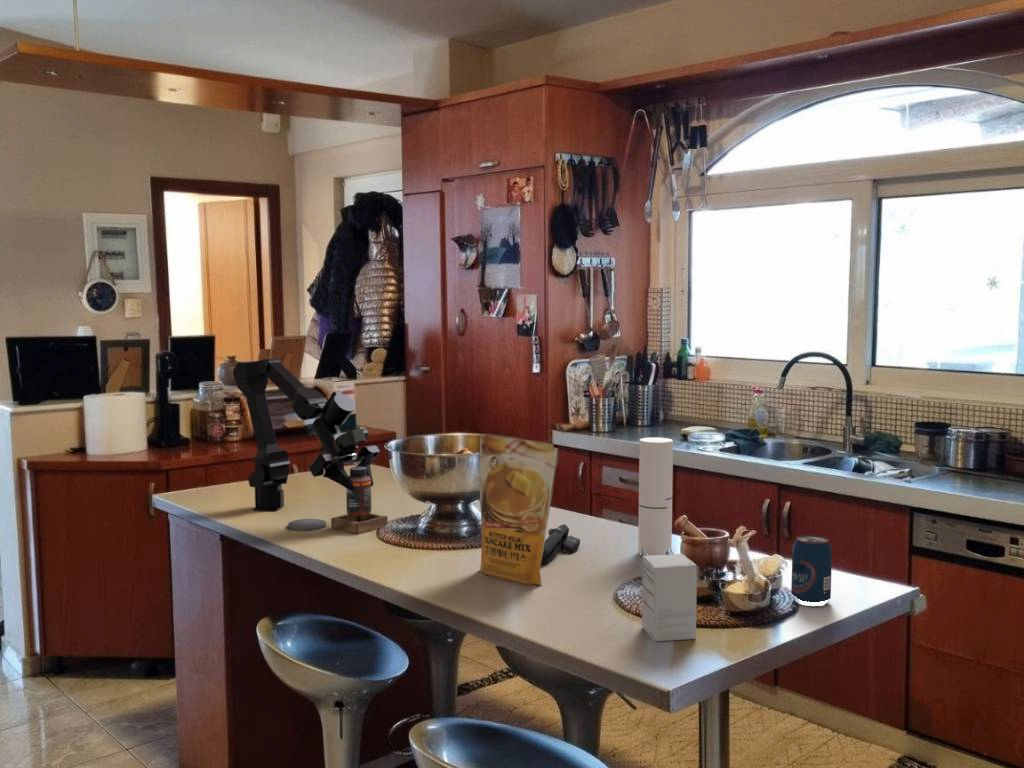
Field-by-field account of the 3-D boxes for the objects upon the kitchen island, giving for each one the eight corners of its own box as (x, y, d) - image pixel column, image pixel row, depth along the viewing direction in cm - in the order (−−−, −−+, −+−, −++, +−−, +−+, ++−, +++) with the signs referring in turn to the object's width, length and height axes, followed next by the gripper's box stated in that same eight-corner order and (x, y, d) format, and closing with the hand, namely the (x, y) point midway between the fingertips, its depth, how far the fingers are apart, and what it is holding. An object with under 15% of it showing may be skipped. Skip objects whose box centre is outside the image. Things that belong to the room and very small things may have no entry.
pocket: (331, 528, 237) (331, 518, 237) (360, 520, 244) (360, 511, 244) (358, 534, 231) (358, 523, 231) (387, 526, 239) (387, 516, 238)
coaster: (283, 530, 235) (283, 526, 235) (295, 521, 244) (295, 518, 244) (319, 531, 234) (319, 527, 234) (330, 522, 243) (330, 519, 243)
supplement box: (682, 624, 169) (683, 552, 167) (696, 640, 161) (698, 564, 160) (640, 627, 168) (641, 554, 166) (653, 642, 160) (654, 566, 159)
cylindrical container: (678, 553, 214) (679, 440, 211) (657, 559, 209) (658, 443, 207) (652, 547, 219) (653, 436, 217) (631, 553, 214) (632, 439, 212)
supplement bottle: (374, 511, 240) (373, 465, 239) (368, 517, 234) (367, 470, 233) (350, 510, 241) (349, 465, 240) (343, 516, 235) (343, 469, 234)
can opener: (554, 544, 222) (554, 520, 222) (583, 547, 220) (583, 523, 219) (525, 565, 206) (525, 539, 206) (556, 568, 203) (556, 542, 203)
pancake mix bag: (490, 564, 206) (489, 431, 203) (560, 582, 193) (561, 441, 191) (467, 571, 201) (466, 435, 198) (538, 590, 188) (539, 445, 186)
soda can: (783, 601, 181) (784, 537, 180) (806, 594, 185) (808, 531, 184) (815, 611, 176) (817, 545, 175) (838, 603, 180) (840, 539, 179)
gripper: (317, 420, 230) (350, 473, 225) (374, 412, 245) (406, 461, 239) (295, 450, 236) (327, 502, 230) (353, 440, 250) (384, 489, 245)
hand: (362, 487), depth 236 cm, fingers closed on supplement bottle, 6 cm apart
